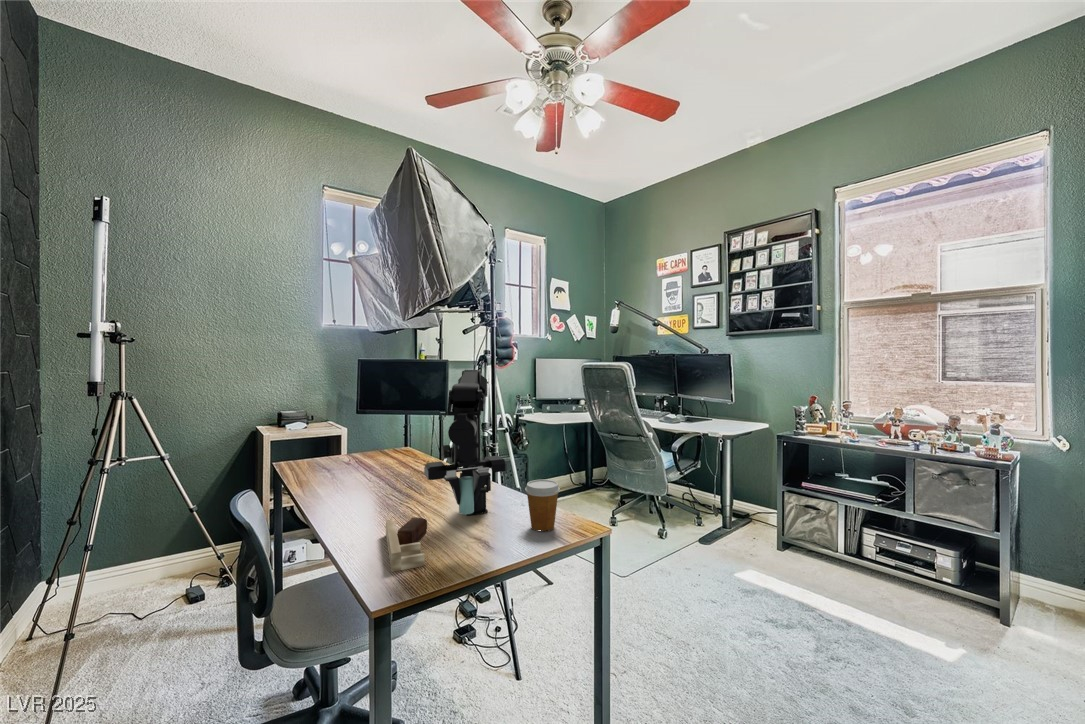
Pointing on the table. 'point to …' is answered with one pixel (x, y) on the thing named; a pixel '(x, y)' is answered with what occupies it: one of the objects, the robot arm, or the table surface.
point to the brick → (412, 531)
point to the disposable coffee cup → (542, 503)
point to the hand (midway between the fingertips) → (466, 503)
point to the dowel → (466, 495)
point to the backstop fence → (402, 551)
